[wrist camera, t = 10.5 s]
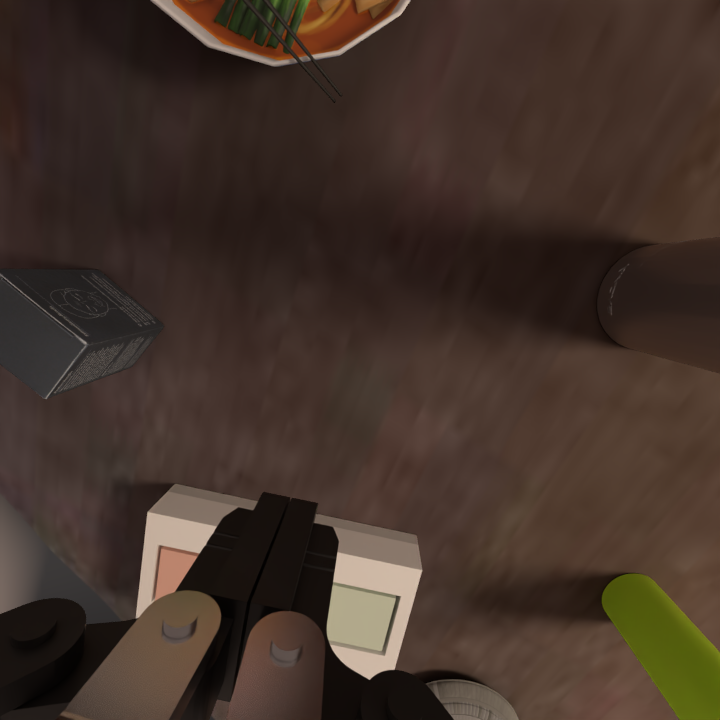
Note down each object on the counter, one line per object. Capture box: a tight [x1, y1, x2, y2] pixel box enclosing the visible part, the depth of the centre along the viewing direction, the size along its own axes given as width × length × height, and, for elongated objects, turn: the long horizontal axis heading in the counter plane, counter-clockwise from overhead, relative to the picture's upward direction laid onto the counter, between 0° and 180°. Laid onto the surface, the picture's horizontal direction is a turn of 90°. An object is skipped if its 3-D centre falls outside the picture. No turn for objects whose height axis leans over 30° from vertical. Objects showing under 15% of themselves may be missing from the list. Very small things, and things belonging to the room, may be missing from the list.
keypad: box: [136, 484, 422, 680], centre depth 40 cm, size 25×16×5 cm, turn 78°
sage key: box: [327, 582, 396, 651], centre depth 38 cm, size 6×6×3 cm
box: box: [0, 269, 164, 399], centre depth 32 cm, size 8×6×11 cm
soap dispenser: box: [602, 573, 720, 720], centre depth 31 cm, size 6×7×20 cm
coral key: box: [155, 546, 200, 601], centre depth 38 cm, size 6×6×3 cm
